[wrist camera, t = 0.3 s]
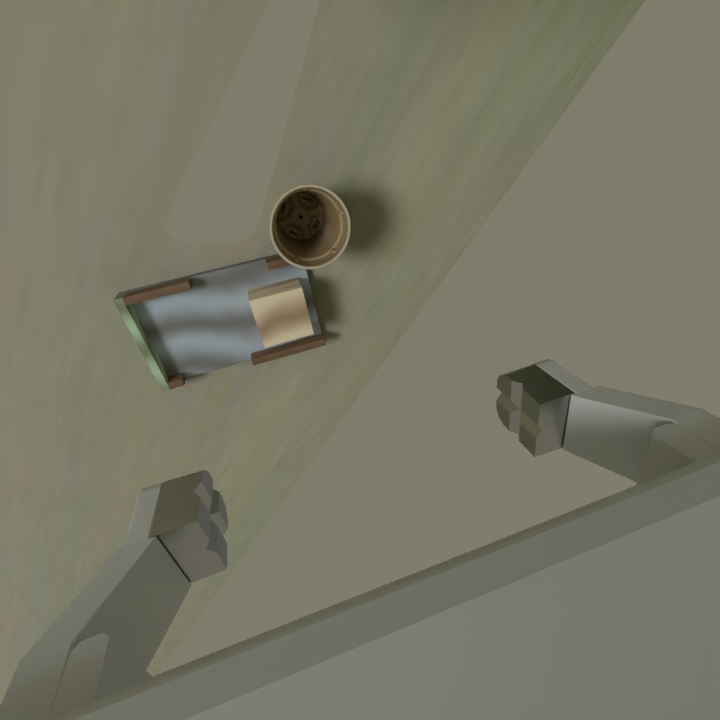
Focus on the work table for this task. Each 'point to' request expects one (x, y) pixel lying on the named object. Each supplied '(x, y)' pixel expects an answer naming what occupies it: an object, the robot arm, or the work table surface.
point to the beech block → (280, 312)
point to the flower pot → (310, 227)
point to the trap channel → (209, 320)
